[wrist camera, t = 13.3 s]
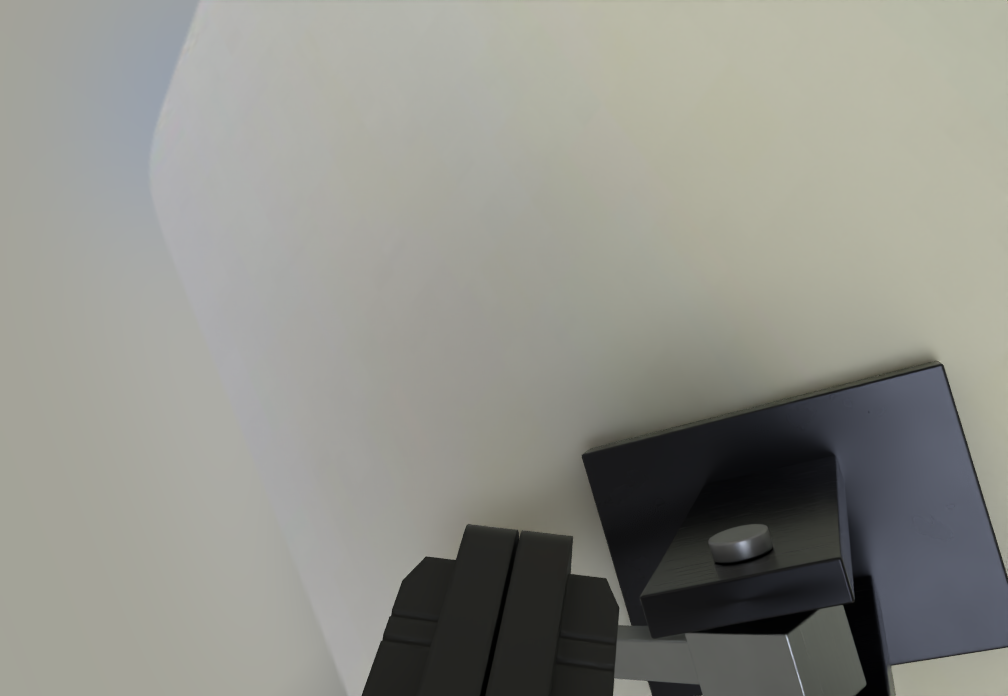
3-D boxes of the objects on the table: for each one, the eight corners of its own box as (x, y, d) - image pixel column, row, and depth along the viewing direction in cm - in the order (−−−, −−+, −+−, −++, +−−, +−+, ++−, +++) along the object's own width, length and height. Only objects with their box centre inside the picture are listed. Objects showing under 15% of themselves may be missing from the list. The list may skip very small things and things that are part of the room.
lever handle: (496, 670, 32) (423, 713, 30) (469, 579, 32) (395, 616, 30) (882, 698, 22) (814, 766, 20) (842, 565, 22) (769, 618, 20)
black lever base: (659, 689, 34) (568, 917, 22) (588, 449, 34) (460, 545, 22) (1020, 631, 30) (1149, 869, 18) (938, 359, 30) (1012, 417, 18)
